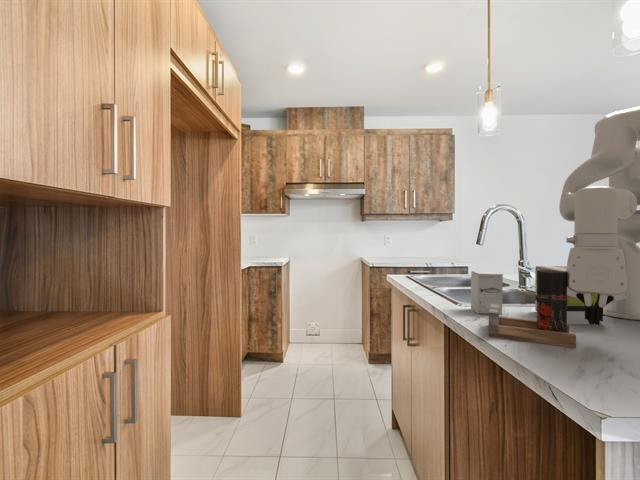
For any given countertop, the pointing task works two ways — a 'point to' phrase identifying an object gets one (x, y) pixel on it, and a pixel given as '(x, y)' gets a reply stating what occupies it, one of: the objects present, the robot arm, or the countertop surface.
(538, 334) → the channel
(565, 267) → the tea box
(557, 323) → the black package box
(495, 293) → the supplement box
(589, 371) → the countertop surface
